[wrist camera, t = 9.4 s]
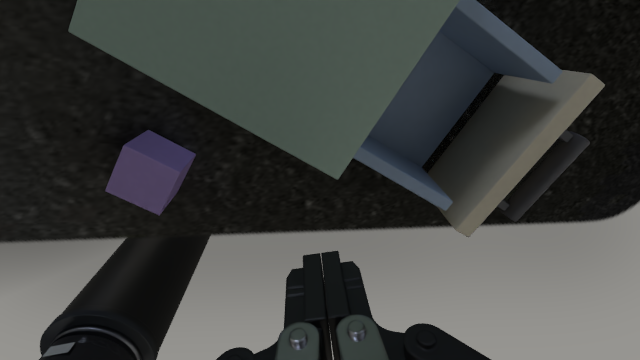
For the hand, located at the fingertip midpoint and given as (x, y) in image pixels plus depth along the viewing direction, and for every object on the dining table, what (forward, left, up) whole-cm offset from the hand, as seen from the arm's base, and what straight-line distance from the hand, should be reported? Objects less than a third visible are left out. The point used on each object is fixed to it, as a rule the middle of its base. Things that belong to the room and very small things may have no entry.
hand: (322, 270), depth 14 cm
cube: (-7, +10, -15) cm, 19 cm away
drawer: (+8, -6, -14) cm, 17 cm away
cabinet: (+8, +7, -15) cm, 18 cm away
